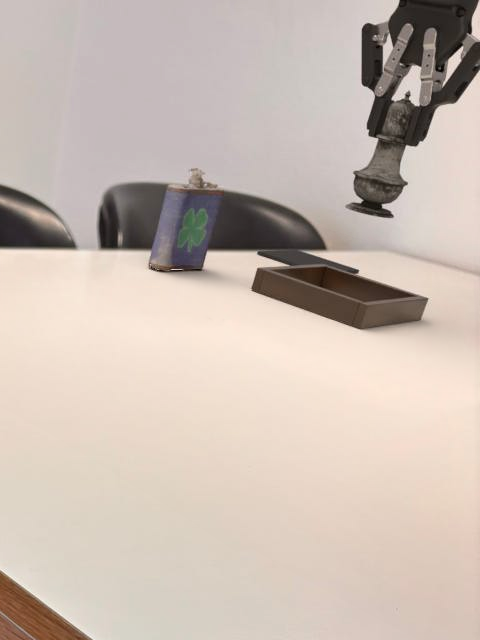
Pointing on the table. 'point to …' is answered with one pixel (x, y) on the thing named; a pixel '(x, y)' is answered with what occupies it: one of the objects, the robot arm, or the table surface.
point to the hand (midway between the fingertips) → (392, 140)
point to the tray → (339, 295)
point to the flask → (186, 224)
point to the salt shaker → (384, 164)
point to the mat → (302, 259)
